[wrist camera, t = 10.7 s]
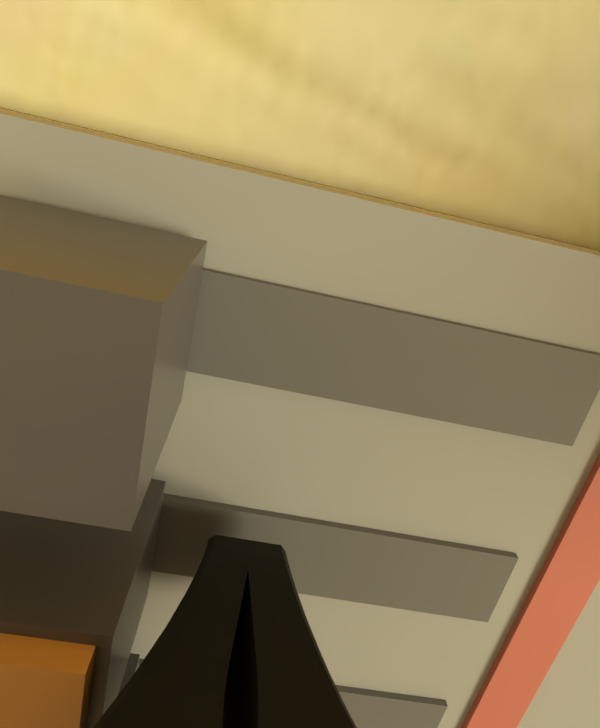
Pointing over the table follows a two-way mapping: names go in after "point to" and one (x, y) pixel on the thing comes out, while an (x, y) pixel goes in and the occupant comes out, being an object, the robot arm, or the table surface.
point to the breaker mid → (70, 613)
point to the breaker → (89, 359)
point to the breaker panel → (373, 426)
